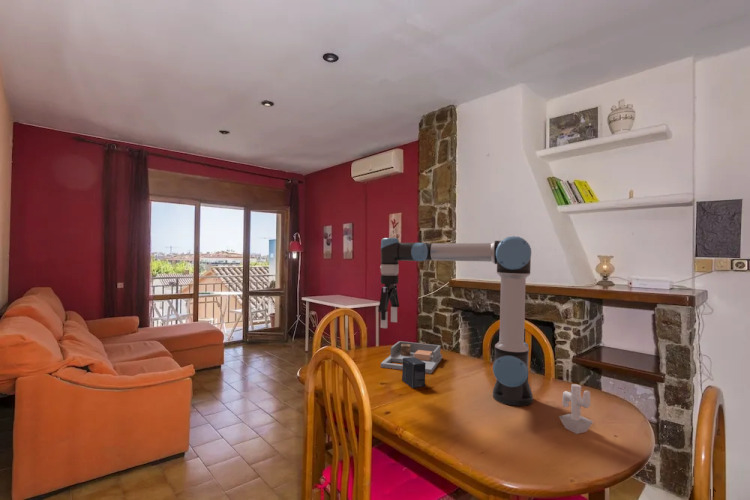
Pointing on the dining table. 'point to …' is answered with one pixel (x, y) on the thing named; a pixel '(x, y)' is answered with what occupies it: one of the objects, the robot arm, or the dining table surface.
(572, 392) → the figurine
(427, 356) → the terracotta tile
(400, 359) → the cubby deck
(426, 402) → the dining table surface
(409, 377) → the box
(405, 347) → the walnut block
